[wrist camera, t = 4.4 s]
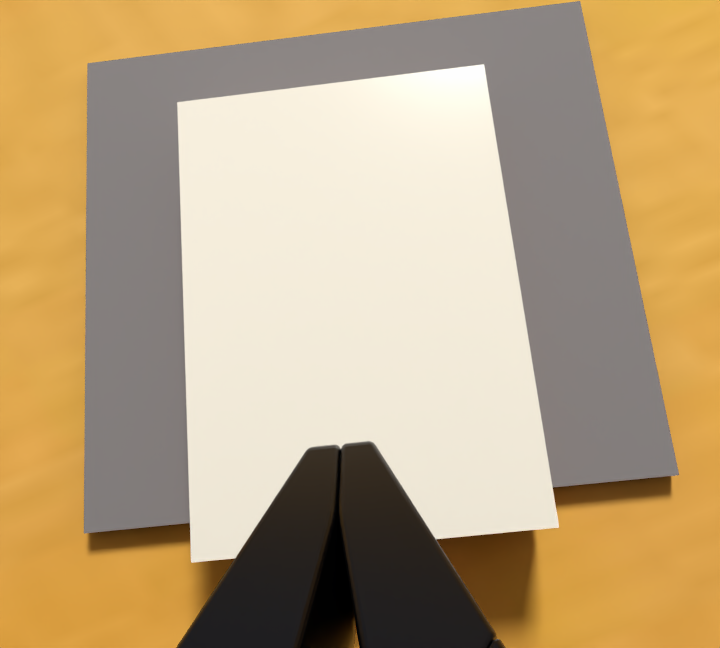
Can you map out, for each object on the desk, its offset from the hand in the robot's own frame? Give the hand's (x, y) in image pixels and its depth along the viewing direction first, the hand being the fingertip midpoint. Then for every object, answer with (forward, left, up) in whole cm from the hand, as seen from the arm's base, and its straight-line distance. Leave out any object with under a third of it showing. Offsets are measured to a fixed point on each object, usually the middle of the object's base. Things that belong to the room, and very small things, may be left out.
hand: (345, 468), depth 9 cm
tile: (-1, 0, -5) cm, 6 cm away
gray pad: (+5, +1, -7) cm, 9 cm away
